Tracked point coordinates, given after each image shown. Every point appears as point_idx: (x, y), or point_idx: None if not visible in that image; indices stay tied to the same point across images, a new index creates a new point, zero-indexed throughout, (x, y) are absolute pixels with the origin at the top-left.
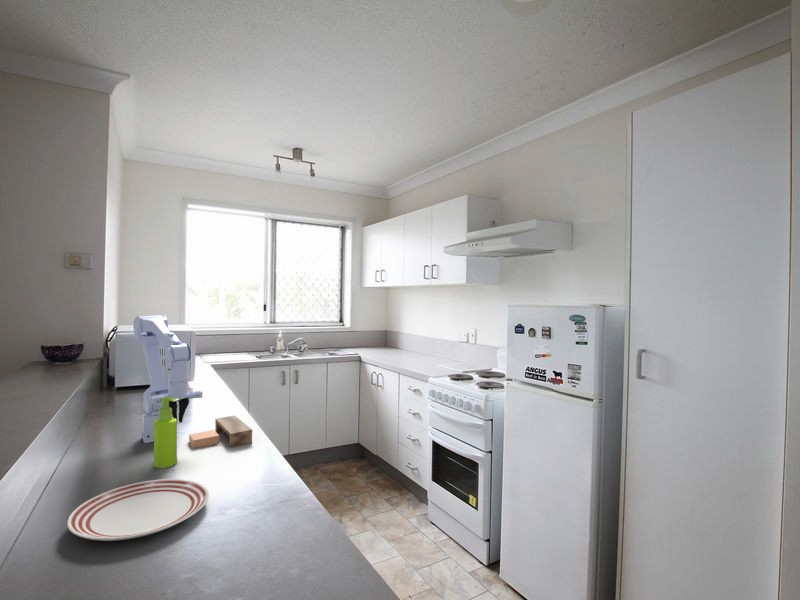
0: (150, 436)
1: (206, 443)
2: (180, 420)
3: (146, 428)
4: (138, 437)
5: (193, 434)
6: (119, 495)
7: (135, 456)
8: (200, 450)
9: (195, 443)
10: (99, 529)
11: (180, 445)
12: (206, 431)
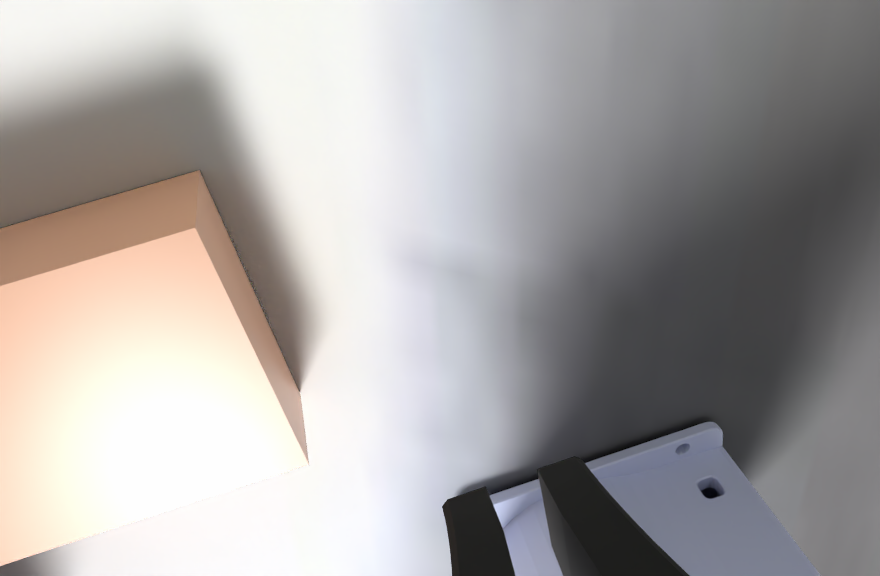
0: (691, 491)
1: (8, 238)
2: (489, 523)
3: (780, 556)
4: None
5: (248, 454)
6: None
7: (847, 93)
8: (54, 34)
9: (168, 208)
10: None
11: (387, 310)
12: (84, 531)
